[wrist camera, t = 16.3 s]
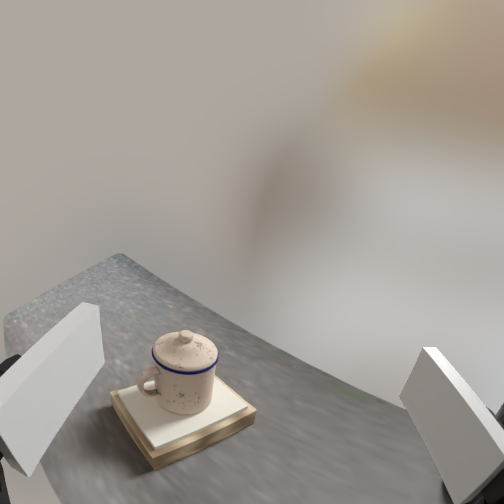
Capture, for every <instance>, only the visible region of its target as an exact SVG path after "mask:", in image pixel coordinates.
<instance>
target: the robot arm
mask: <svg viewBox="0 0 504 504" xmlns="http://www.w3.org/2000/svg"><path fill="white" fill-rule="evenodd" d="M104 363H105V361H104V354H103V346H102V337H101V327H100V316H99V306H97V305H93V304H89V303H85V302H82V303H81V304H80V305H79V306H77V307H76V308H75V309H74V310H73V311H72V312H70V313H69V314H68V315H67V316H66V317H65V318H63V319H62V320H61V321H60V322H59V323H58V324H57V325H56V326H54V327H53V328H52V329H51V330H50V331H49V332H48V333H47V334H45V335H44V336H43V337H42V338H41V339H40V340H39V341H38V342H37V343H36V344H34V345H33V346H32V347H31V348H30V349H29V350H28V351H27V352H26V353H25V354H24V355H23V356H20V355H18V354H17V355H14V356H12V357H10V358H8V359H6V360H5V361H3V363H1V364H0V460H1V459H2V457H3V456H4V458H5V459H6V460H7V462H8V463H9V464H10V466H11V467H12V468H14V469H16V470H17V471H19V472H20V473H22V474H24V475H25V476H27V477H30V476H31V474H32V472H33V471H34V469H35V467H36V466H37V464H38V462H39V461H40V459H41V458H42V456H43V454H44V453H45V451H46V449H47V448H48V446H49V445H50V443H51V441H52V440H53V438H54V437H55V435H56V434H57V432H58V431H59V429H60V427H61V426H62V424H63V423H64V421H65V420H66V418H67V417H68V415H69V414H70V412H71V411H72V409H73V408H74V406H75V405H76V403H77V402H78V400H79V399H80V397H81V396H82V394H83V393H84V391H85V390H86V389H87V387H88V386H89V384H90V383H91V381H92V380H93V378H94V377H95V376H96V374H97V373H98V371H99V370H100V369H101V367H102V366H103V364H104ZM399 397H400V399H401V401H402V402H403V404H404V406H405V408H406V410H407V412H408V413H409V415H410V417H411V419H412V421H413V423H414V425H415V426H416V428H417V430H418V432H419V434H420V436H421V438H422V440H423V442H424V444H425V446H426V448H427V449H428V451H429V453H430V455H431V457H432V459H433V461H434V463H435V465H436V467H437V469H438V471H439V474H440V476H441V478H442V480H443V482H444V484H445V487H446V490H447V492H448V494H449V496H450V498H451V499H452V501H453V503H454V504H504V403H503V405H502V406H501V408H500V409H499V411H498V412H497V414H496V415H495V414H494V413H493V412H492V411H491V410H490V409H488V408H487V407H486V406H485V405H484V404H483V403H482V401H481V400H480V399H479V398H478V397H477V395H476V394H475V393H474V392H473V390H472V389H471V388H470V387H469V385H468V384H467V383H466V382H465V381H464V379H463V378H462V377H461V376H460V375H459V373H458V372H457V371H456V370H455V369H454V368H453V367H452V365H451V364H450V363H449V362H448V361H447V359H446V358H445V357H444V356H443V355H442V354H441V353H440V351H439V350H438V349H437V348H436V347H423V348H422V350H421V353H420V355H419V357H418V359H417V362H416V364H415V366H414V368H413V370H412V372H411V374H410V376H409V378H408V380H407V382H406V385H405V386H404V388H403V390H402V393H401V394H400V396H399ZM0 504H10V500H9V495H8V491H7V487H6V482H5V477H4V472H3V468H2V465H1V462H0Z"/></svg>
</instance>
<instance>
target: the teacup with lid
mask: <svg viewBox="0 0 504 504" xmlns="http://www.w3.org/2000/svg"><path fill="white" fill-rule="evenodd" d="M152 356H153V359H154V367H152V368H149V369H146V370H144V371H143V372H142V373H141V374H140V375H139V376H138V378H137V388H138V390H139V391H140V392H141V394H142V395H144V396H146V397H149V398H153V397H156V399H157V401H158V402H159V404H160V405H161V406H162V407H164V408H165V409H167V410H168V411H171V412H173V413H176V414H183V415H190V414H195V413H198V412H201V411H203V410H204V409H206V408H207V407H208V406H209V404H210V403H211V400H212V393H213V384H214V375H215V366H216V363H217V361H218V352H217V349H216V347H215V345H214V344H213V343H212V342H211V341H210V340H209V339H207V338H205V337H203V336H201V335H198V334H195V333H192V332H191V331H188V330H183V331H181V332H173V333H169V334H166V335H163V336H162V337H160V338H159V339H158V340H157V341H156V342H155V343H154V345H153V348H152ZM151 376H154V381H155V389H154V390H145V389H144V383H145V381H146V380H147V379H148V378H150V377H151Z"/></svg>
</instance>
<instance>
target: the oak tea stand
mask: <svg viewBox="0 0 504 504" xmlns="http://www.w3.org/2000/svg"><path fill="white" fill-rule="evenodd" d="M144 389H145V390H154V389H155V381H154V380H151V381H148V382H145V383H144ZM110 397H111V402H112V406H113V408H114V410H115V411H116V413H117V415H118V416H119V418H120V420H121V421H122V423H123V425H124V426H125V428H126V429H127V431H128V433H129V434H130V436H131V437H132V439H133V440H134V442H135V443H136V445H137V446H138V448H139V449H140V450H141V452H142V453H143V455H144V456H145V458H146V459H147V460H148V462H149V463H150V464H151V466H152V467H153V469H154V470H156V469H159V468H161V467H164V466H166V465H169V464H171V463H173V462H176V461H178V460H180V459H183V458H185V457H187V456H189V455H192V454H194V453H196V452H198V451H200V450H202V449H205V448H207V447H209V446H211V445H213V444H215V443H217V442H219V441H221V440H223V439H225V438H227V437H229V436H231V435H232V434H234V433H236V432H238V431H240V430H242V429H244V428H245V427H247V426H249V425H251V424H253V423H254V419H255V415H256V411H257V410H256V409H255V408H254V407H252V406H251V405H250V404H249V403H247V402H246V401H245V400H244V399H243V398H241V397H240V396H239V395H238V394H237V393H235V392H234V391H233V390H232V389H231V388H230V387H228V386H227V385H226V384H225V383H224V382H223V381H221V380H220V379H219V378H218V377H217V376H216V375H214V384H213V393H212V400H211V403H210V404H209V406H208V407H207V408H206V409H204V410H203V411H201V412H198V413H195V414H190V415H183V414H176V413H173V412H171V411H168V410H167V409H165V408H164V407H162V406H161V405H160V404H159V402H158V401H157V399H156V397H153V398H149V397H146V396H144V395H142V394H141V392H140V391H139V390H138V388H137V385H134V386H130V387H127V388H123V389H119V390H115V391H111V392H110Z"/></svg>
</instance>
